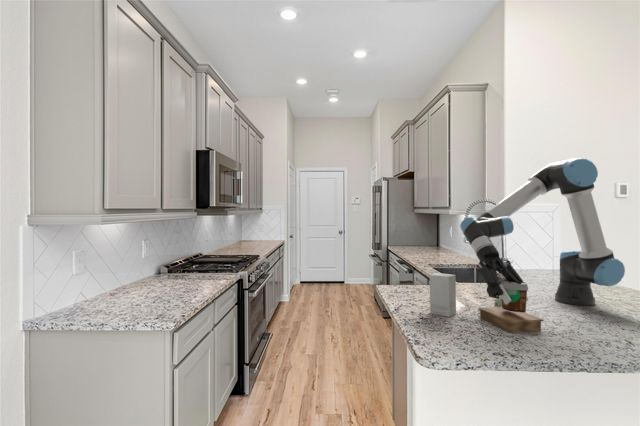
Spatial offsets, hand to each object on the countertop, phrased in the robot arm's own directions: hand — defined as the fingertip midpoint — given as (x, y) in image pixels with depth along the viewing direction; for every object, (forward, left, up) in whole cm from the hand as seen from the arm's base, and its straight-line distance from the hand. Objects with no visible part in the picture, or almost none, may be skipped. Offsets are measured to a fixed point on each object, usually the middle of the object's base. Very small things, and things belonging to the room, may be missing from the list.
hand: (517, 301), depth 128 cm
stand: (0, -4, -9) cm, 10 cm away
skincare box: (+17, -20, -9) cm, 28 cm away
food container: (0, -4, -4) cm, 5 cm away
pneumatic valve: (-12, -25, -9) cm, 29 cm away
